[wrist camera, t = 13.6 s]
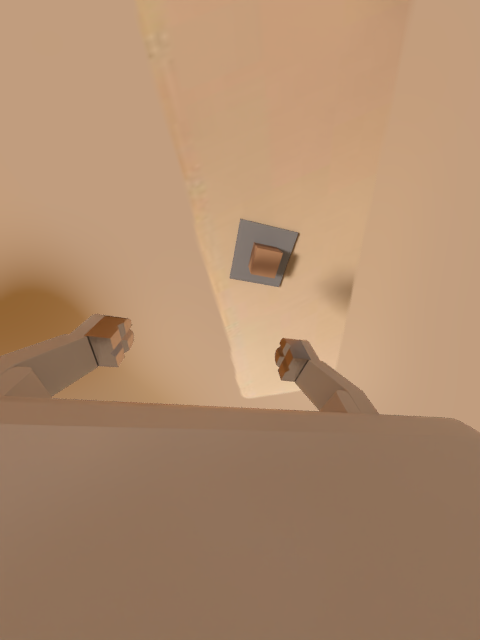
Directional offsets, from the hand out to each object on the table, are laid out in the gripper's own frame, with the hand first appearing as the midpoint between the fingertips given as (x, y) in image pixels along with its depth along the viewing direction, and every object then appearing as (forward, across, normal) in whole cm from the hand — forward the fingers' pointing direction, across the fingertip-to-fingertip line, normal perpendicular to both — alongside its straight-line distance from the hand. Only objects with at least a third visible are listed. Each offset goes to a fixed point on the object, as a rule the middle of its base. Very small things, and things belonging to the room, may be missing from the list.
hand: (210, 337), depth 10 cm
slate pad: (+31, -9, +2) cm, 32 cm away
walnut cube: (+30, -9, +2) cm, 32 cm away
